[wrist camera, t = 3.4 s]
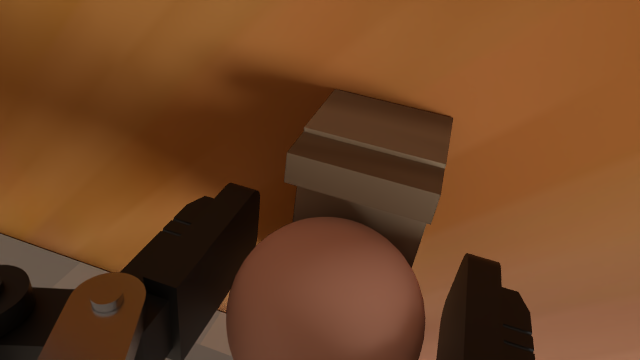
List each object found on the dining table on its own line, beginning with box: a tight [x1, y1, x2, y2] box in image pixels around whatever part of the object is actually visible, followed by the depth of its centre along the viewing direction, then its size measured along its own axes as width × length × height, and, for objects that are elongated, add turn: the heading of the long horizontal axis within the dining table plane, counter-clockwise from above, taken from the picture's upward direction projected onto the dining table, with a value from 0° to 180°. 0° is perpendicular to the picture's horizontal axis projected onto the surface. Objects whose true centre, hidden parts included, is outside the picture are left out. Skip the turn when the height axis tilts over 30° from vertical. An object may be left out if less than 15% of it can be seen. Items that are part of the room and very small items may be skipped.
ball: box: [226, 217, 425, 360], centre depth 9 cm, size 4×4×4 cm
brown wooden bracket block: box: [284, 89, 453, 268], centre depth 12 cm, size 6×3×3 cm, turn 172°
